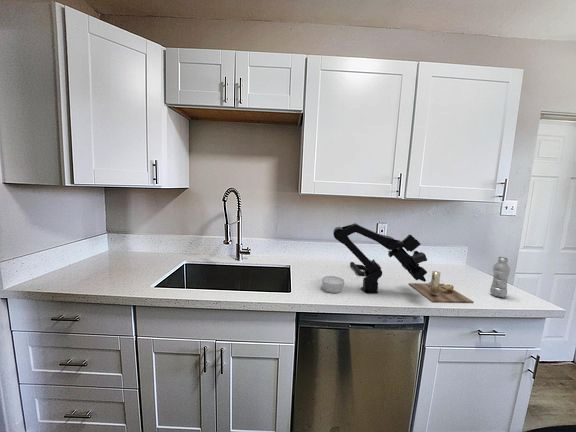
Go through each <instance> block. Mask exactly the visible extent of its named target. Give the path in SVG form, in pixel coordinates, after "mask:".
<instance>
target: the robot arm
mask: <svg viewBox="0 0 576 432" xmlns="http://www.w3.org/2000/svg"><path fill="white" fill-rule="evenodd" d="M332 232H333V233H332V234H333V237H334V239H335V240H337V241H338V242H340V243H341V244H343V245H344V246H345V247H346V248H347V249H348V250H349V251H350V252H351V253H352V254H353V256H355V257H356V259H358V261H360V262H361V264H362V265H363V266H365V267H366V269H367V270H366V271H364V270H363V271H364V275H365V276H364V277H363V279H362V286H361V287H360V288H361V289H362V291H363V292H364V293H365V294H379V292H378V291H379V282H378V281H379V279H380V278H381V277H382V276H383V271H382V267H381V265H380V264H379V263H377V261H376V260H375V259H374V258H373V259H372V260H371V259H370V258H368V257H367V255H365V253H363V251H362V250H361V249H360V248H359V247H358V246H357V245H356V244H355V243H354V242H353V241H352V240H351V239H350V237H349V236H350V235H352V234H355V233H356V234H359V235H361V236H364V237H366V238H368V239H370V240H372V241H374V242H377V243H378V244H380V245H382V247H384V248H385V249H387V250H388V251H387V252H388V253H387V255H388V257H389V258H392V257H394V258H395V259H396V260H397V261H398V262H399V263H400V264H401V266H402V268H404V270H406V271H407V272H408V274H410V275H411V277H413V279H414V280H415V281H422V282H424V283H426V282H427V280H426V278H425V275H427V274H428V271H427V270H426V269H425V268H424V267H422V266H421V265H420V263H423V262H427V261H428V258H427V255H426V253H424V252H422V251H417V250H416V249H417V248H419V246H420V245H421V242H420V241H419V240H418V239H417V238H415V237H414V236H413V235H412V234H408V235H407V236H406V237H405V238H404V239H402V240H400V239H395V238H394V237H391V236H388V235H385V234H379V233H377V232H375V231H373V230H370V229H369V228H367V227H364V226H361V225H359V224H358V223H354V222H353V223H352V224H347V225H344V226H342V227H341V226H337V227H335V228H333V231H332ZM408 252H410V253H412V255H410V254H409V253H408Z"/></svg>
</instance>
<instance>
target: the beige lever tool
mask: <svg viewBox="0 0 576 432" xmlns="http://www.w3.org/2000/svg"><path fill="white" fill-rule="evenodd" d="M440 281H441V272H440V271H437V270H432V271H431V280H430V281H428V283H427V284H428V286H429V287H430V292H431V294H434V295H437V293H438V291H439V284H440V283H441V282H440Z"/></svg>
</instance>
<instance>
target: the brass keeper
mask: <svg viewBox="0 0 576 432" xmlns="http://www.w3.org/2000/svg"><path fill="white" fill-rule="evenodd" d="M441 288H442V289H445V290H447V291H448V292H450V293H452V292H453V290H454V289H455V286H454V285H453V284H445V285H443V286H441Z"/></svg>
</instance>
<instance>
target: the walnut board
mask: <svg viewBox="0 0 576 432" xmlns="http://www.w3.org/2000/svg"><path fill="white" fill-rule="evenodd" d="M443 285H446V283H439V291H438V293H437V295H434V294H431V292H430V287H429V286H428V283H426V282H424V283H419V282H415V283H414V282H409V283H408V286H410V287H411V288H412V289H414V290H415V291H416V292H418V293H419V294H421V295H422V296H423V297H424V298H426V299H427V300H428V301H430V302H431V303H435V304H436V303H440V304H442V303H445V304H447V303H449V304H450V303H451V304H474V303H475V302H474V301H473V300H472V299H470V298H468V297H467V296H465V295H463V294H462V293H460V292H458V291H456V290H455V289H453V292H452V293H450V292H448V291H447V290H445V289H442V288H441V286H443Z"/></svg>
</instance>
